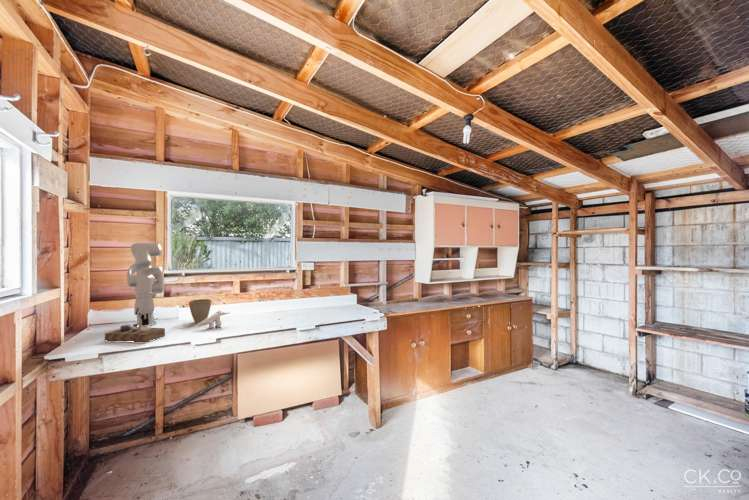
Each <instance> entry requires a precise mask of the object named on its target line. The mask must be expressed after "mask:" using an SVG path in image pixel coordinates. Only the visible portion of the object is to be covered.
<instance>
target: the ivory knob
mask: <svg viewBox="0 0 749 500" xmlns="http://www.w3.org/2000/svg"><path fill="white" fill-rule="evenodd" d="M150 328H151V326H150V325H145V326H141V332H148V331H150Z"/></svg>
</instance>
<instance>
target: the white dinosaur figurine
mask: <svg viewBox="0 0 749 500" xmlns="http://www.w3.org/2000/svg"><path fill="white" fill-rule="evenodd" d="M230 313H231V312H230V311H229V312H225V311H222V310H220V309H219V310H217V311H215V313H213V314H211V315H210V316H208V317H207V318H206V319H205V320H203V321H202V322H200V323H196V324H194V326H193V327H192V328H194V327H200V326H203V325H208V328H209V329H213V328H214V325H215V327H217V328H221V327H222V321H221V316H224V315H228V314H230Z"/></svg>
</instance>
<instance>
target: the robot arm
mask: <svg viewBox="0 0 749 500" xmlns="http://www.w3.org/2000/svg"><path fill="white" fill-rule="evenodd" d="M130 251H131V254H132V256H133V257H134V259H135V262H134V263H133V264H132V265H130V267H129V268H128V269H127V272H126V284H127V286H128V287H130V288H134V293H135V298H136V299H135V301H134V309H133V310H134V311H133V313H134V315H135V316H136V320H137V321H136V324H138V327H141V326H145V325H150V327H151V326H154V325H156V324H157V321H156V320H158V319H159V317H158V316H154V311H155V303H154V297H153V295H155V294H157V295H158V294H162V293H164V291H165V281H164V280H165V279H164V278H165V277H164V276H165V275H164V274H165V273H164V268H163V267H162V266H160V265H155V266H153V265H152V257H160V256H161V255H162V251H163V250H162V245H161V243H158V242H149V243H148V242H137V243H133V244H131V245H130ZM134 273H136V274H134Z"/></svg>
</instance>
